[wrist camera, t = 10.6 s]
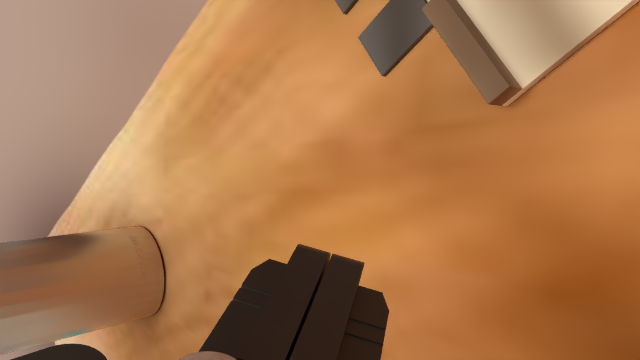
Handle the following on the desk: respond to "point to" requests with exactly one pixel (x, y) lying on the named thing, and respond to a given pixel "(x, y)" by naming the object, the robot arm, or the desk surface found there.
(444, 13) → the trap lane
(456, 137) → the desk surface
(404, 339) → the desk surface
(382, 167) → the desk surface
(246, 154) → the desk surface
